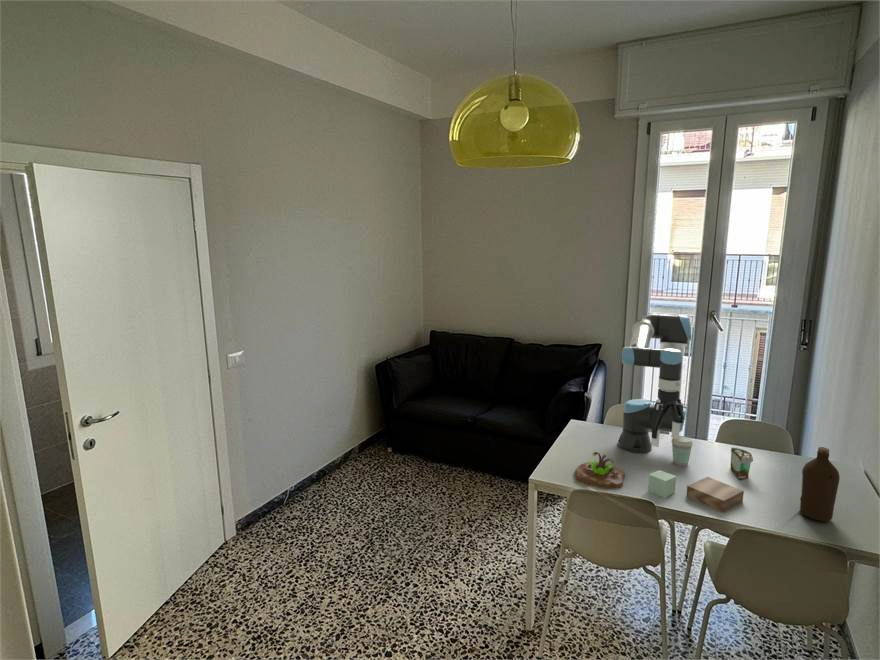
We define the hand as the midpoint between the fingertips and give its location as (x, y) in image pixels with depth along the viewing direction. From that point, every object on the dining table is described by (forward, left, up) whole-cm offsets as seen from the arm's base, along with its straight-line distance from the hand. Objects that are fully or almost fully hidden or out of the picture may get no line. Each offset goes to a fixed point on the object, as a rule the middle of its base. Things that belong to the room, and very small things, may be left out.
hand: (665, 442), depth 195 cm
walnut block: (+15, +11, -21) cm, 28 cm away
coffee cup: (-10, +30, -21) cm, 38 cm away
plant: (-23, -9, -21) cm, 33 cm away
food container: (+11, +41, -21) cm, 47 cm away
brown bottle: (+41, +30, -21) cm, 55 cm away
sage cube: (0, 0, -21) cm, 21 cm away
